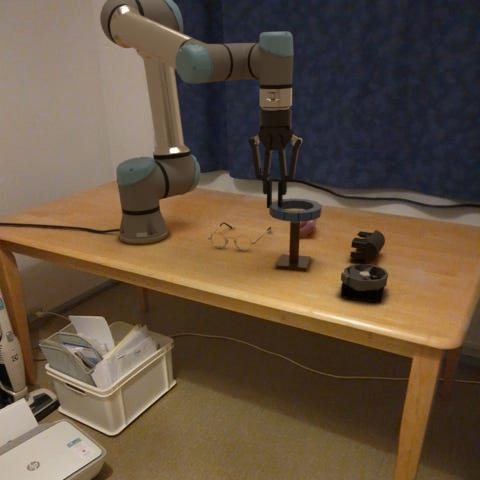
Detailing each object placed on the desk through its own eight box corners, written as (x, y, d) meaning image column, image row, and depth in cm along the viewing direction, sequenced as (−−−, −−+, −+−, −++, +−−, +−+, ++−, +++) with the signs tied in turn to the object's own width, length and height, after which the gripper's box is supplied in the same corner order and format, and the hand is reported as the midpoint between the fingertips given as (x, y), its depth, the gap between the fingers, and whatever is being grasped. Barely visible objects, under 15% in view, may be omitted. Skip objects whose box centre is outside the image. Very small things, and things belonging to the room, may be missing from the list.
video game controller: (308, 243, 148) (319, 224, 144) (295, 236, 148) (306, 217, 144) (310, 232, 156) (321, 214, 153) (298, 226, 156) (308, 207, 152)
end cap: (375, 267, 128) (378, 243, 124) (349, 263, 130) (351, 239, 127) (383, 254, 135) (386, 231, 132) (358, 250, 138) (360, 227, 135)
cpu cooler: (390, 265, 114) (385, 283, 106) (387, 287, 117) (382, 306, 109) (346, 260, 117) (338, 277, 109) (344, 281, 120) (336, 299, 112)
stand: (276, 268, 128) (277, 225, 122) (282, 257, 135) (282, 215, 129) (306, 271, 126) (308, 227, 120) (310, 259, 133) (312, 217, 127)
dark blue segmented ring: (265, 219, 120) (265, 211, 119) (275, 205, 131) (275, 197, 130) (317, 223, 117) (318, 214, 116) (323, 208, 128) (323, 200, 127)
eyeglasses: (204, 248, 143) (203, 232, 140) (227, 228, 158) (227, 213, 155) (255, 253, 138) (255, 237, 135) (274, 232, 153) (274, 217, 150)
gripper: (240, 110, 111) (242, 209, 123) (305, 110, 108) (301, 212, 119) (248, 106, 118) (249, 201, 129) (310, 106, 114) (306, 204, 126)
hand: (274, 206), depth 124 cm, fingers closed on dark blue segmented ring, 2 cm apart
